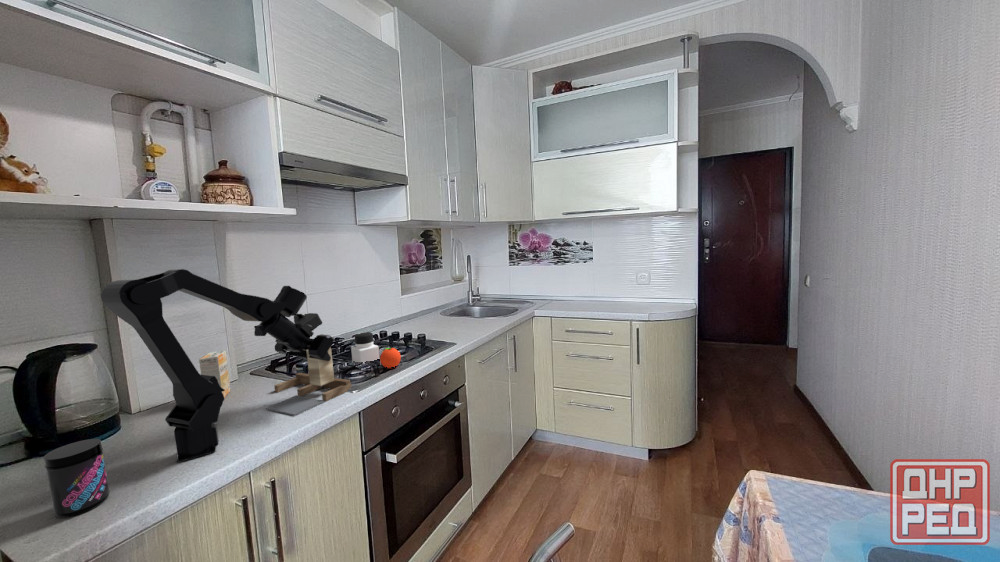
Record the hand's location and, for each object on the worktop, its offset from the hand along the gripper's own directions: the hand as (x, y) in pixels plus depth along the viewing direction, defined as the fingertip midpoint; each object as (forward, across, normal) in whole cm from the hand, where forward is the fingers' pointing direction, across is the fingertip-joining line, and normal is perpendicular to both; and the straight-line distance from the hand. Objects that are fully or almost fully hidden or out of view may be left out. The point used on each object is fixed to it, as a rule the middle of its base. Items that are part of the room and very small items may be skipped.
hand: (324, 358), depth 115 cm
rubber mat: (0, 0, +14) cm, 14 cm away
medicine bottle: (+23, +7, -9) cm, 26 cm away
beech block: (+4, 0, +6) cm, 7 cm away
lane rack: (+6, +5, +8) cm, 11 cm away
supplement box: (-3, +30, +17) cm, 35 cm away
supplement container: (-30, -3, +44) cm, 54 cm away
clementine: (+24, -3, -10) cm, 26 cm away
